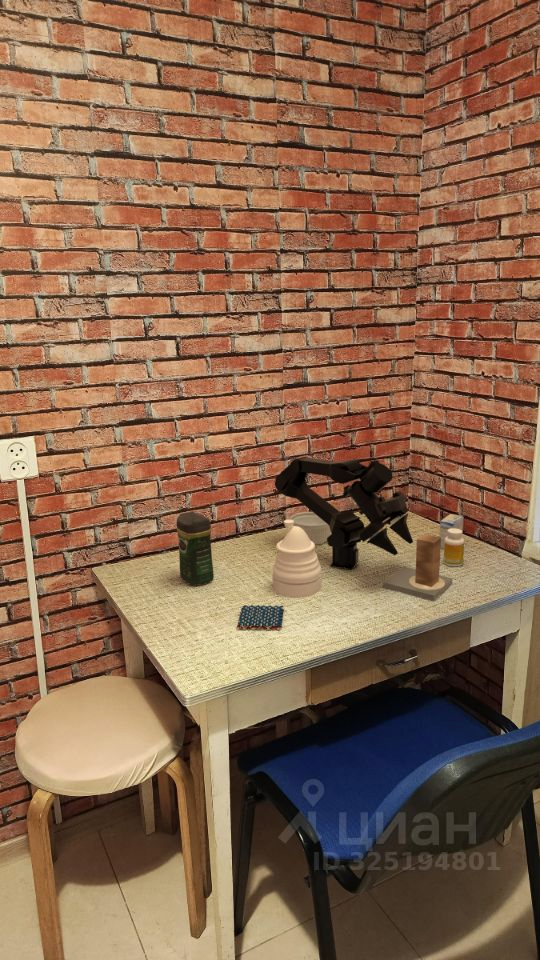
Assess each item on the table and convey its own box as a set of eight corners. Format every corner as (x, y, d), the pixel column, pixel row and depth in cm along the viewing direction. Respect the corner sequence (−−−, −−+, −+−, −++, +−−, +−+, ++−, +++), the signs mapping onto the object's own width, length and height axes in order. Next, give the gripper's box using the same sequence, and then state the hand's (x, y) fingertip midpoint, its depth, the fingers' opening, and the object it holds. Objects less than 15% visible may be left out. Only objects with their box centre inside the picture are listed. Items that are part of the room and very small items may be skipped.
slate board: (382, 587, 168) (382, 581, 167) (403, 571, 177) (403, 565, 176) (433, 601, 159) (433, 594, 159) (452, 583, 169) (452, 577, 168)
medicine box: (448, 540, 198) (449, 513, 196) (462, 542, 196) (463, 515, 193) (438, 548, 192) (439, 520, 190) (452, 551, 189) (454, 523, 187)
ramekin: (310, 528, 211) (310, 508, 209) (341, 538, 201) (341, 517, 200) (281, 539, 202) (280, 518, 200) (311, 550, 193) (311, 528, 191)
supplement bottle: (463, 567, 178) (465, 534, 175) (443, 566, 179) (445, 533, 176) (462, 559, 183) (464, 527, 180) (442, 558, 184) (444, 526, 182)
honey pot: (265, 593, 166) (263, 528, 161) (282, 573, 177) (280, 511, 172) (313, 600, 162) (313, 533, 157) (327, 579, 173) (327, 516, 168)
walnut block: (415, 582, 166) (416, 539, 162) (422, 576, 169) (424, 533, 166) (431, 587, 163) (433, 542, 160) (438, 580, 166) (441, 537, 163)
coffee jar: (218, 581, 174) (215, 516, 169) (192, 589, 169) (188, 522, 164) (201, 569, 181) (197, 507, 176) (176, 576, 177) (171, 513, 172)
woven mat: (241, 611, 158) (240, 603, 158) (284, 611, 157) (284, 603, 157) (236, 632, 148) (235, 624, 148) (282, 633, 147) (281, 625, 147)
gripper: (371, 493, 159) (410, 544, 156) (403, 475, 173) (440, 522, 170) (342, 517, 166) (379, 566, 163) (376, 498, 180) (411, 543, 177)
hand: (404, 548), depth 168 cm, fingers open, 9 cm apart
